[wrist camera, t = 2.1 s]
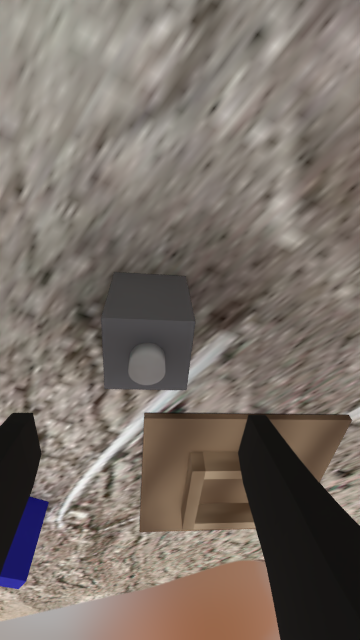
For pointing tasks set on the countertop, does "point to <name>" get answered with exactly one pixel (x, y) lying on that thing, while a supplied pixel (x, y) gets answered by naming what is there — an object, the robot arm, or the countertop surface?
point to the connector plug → (147, 332)
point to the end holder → (217, 466)
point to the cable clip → (23, 544)
